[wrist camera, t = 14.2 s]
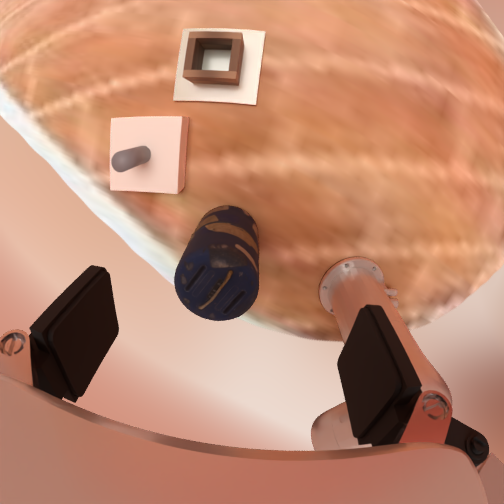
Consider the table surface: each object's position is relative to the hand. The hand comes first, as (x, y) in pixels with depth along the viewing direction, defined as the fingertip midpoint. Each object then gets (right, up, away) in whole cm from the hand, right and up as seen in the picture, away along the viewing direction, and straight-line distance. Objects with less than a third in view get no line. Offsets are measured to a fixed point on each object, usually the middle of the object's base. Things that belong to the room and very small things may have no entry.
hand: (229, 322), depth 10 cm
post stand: (-14, +18, +29) cm, 37 cm away
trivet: (-4, +29, +23) cm, 38 cm away
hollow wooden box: (-4, +29, +22) cm, 37 cm away
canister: (-3, +6, +35) cm, 35 cm away
